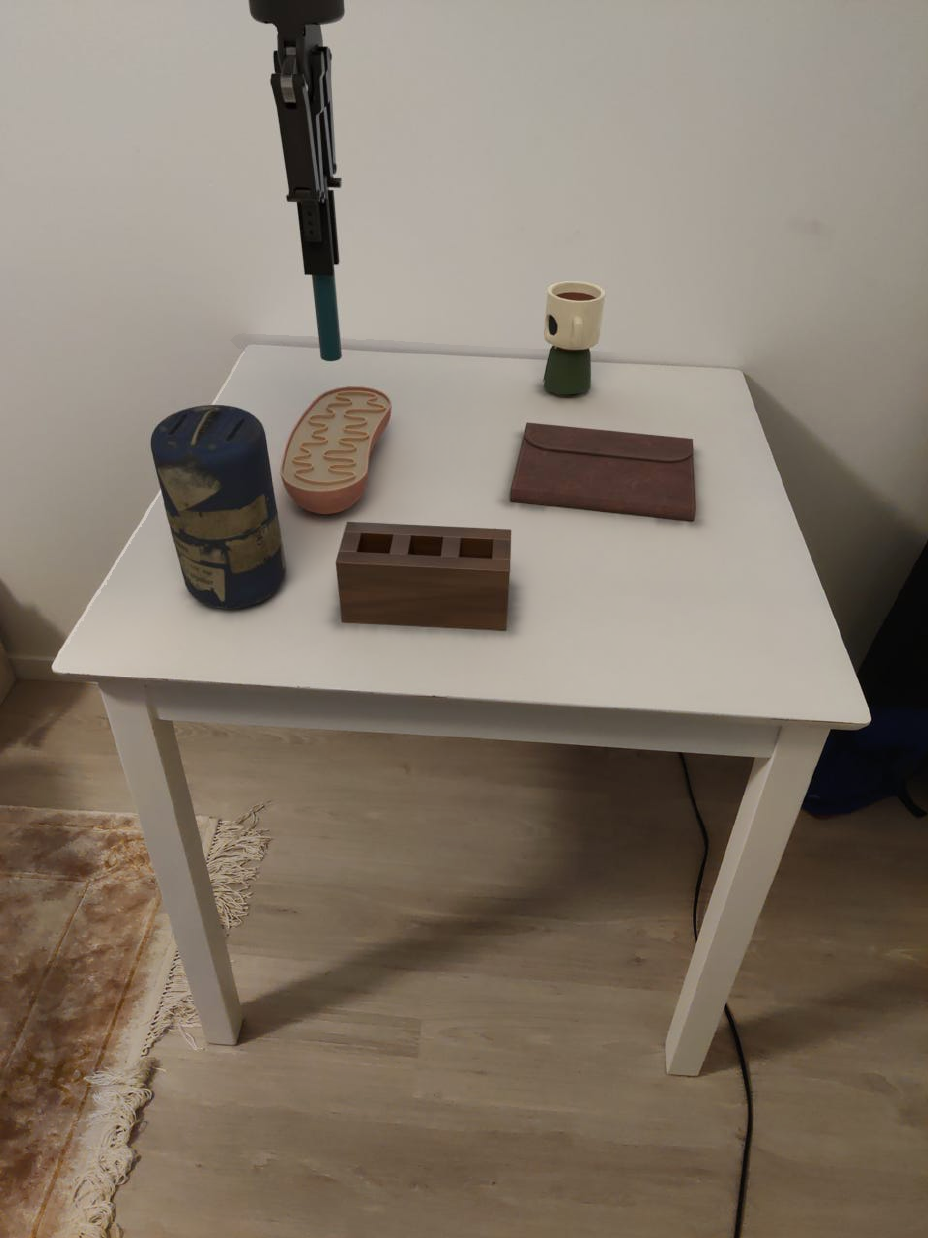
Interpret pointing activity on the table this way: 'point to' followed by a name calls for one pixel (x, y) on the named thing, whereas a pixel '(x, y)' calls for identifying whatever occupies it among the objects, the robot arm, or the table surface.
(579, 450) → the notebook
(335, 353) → the pen
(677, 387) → the table surface
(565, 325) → the character mug
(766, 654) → the table surface
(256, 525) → the canister
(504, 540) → the pen holder
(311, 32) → the robot arm
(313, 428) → the anatomical model
